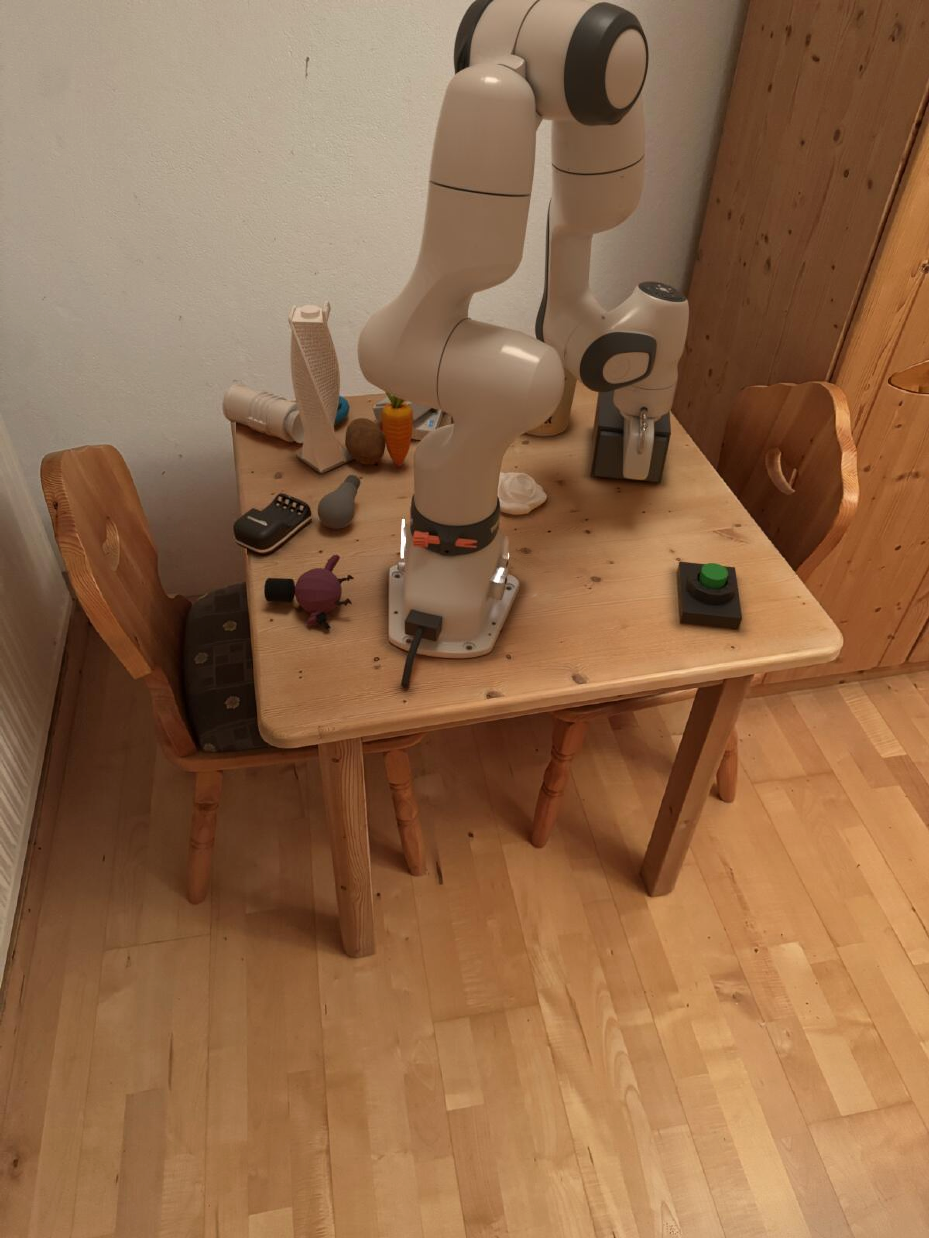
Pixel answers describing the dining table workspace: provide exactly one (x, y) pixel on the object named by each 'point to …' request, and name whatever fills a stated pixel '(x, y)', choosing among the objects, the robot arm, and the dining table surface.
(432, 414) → the ink cartridge box
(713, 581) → the button
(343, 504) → the light bulb
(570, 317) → the robot arm
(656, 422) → the cabinet
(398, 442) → the carrot
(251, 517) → the battery charger
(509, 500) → the rose
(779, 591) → the dining table surface
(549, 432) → the coffee cup
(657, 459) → the drawer
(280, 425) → the white ribbed cylinder
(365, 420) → the potato
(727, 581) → the control block
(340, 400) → the ornament
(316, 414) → the skyscraper
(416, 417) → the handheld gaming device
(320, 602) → the figurine
